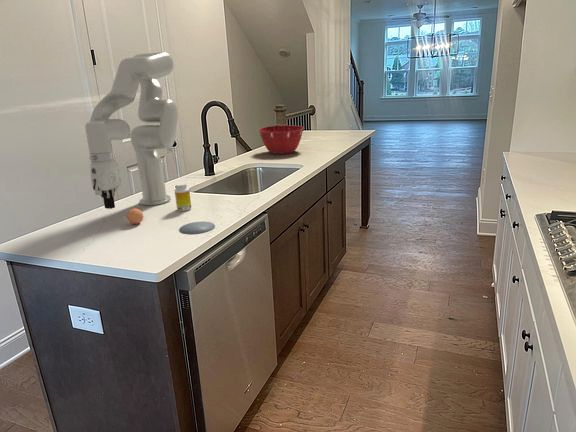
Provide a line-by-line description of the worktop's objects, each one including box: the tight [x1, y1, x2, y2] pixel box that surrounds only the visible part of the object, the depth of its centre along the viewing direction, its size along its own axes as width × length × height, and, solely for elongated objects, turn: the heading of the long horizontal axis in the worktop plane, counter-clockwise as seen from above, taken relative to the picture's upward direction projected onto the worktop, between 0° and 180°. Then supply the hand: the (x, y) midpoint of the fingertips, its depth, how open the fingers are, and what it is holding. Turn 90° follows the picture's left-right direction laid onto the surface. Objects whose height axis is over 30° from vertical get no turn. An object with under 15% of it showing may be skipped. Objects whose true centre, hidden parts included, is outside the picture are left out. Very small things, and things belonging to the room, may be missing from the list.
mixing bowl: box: [258, 124, 304, 155], centre depth 278 cm, size 28×28×16 cm
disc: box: [178, 221, 216, 235], centre depth 150 cm, size 12×12×1 cm
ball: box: [126, 208, 144, 225], centre depth 157 cm, size 6×6×6 cm
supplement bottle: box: [174, 182, 192, 212], centre depth 171 cm, size 6×6×10 cm
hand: (110, 207), depth 159 cm, fingers closed
